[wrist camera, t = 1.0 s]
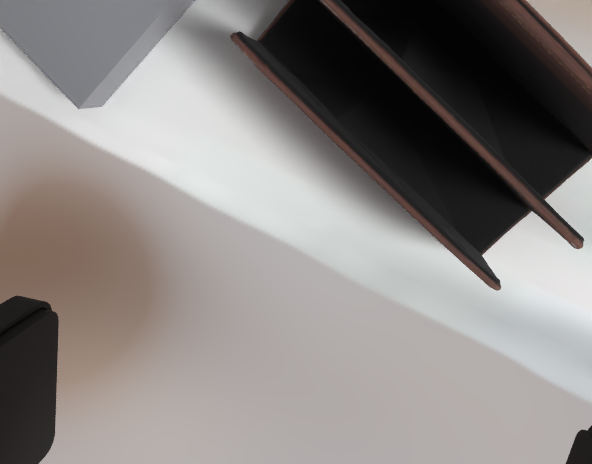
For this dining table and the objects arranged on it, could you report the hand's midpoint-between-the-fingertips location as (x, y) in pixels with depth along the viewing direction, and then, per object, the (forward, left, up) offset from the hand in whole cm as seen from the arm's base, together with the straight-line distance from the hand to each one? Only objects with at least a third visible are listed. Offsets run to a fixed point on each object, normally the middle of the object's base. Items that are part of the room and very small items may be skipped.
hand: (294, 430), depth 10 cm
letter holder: (-6, -1, -28) cm, 29 cm away
